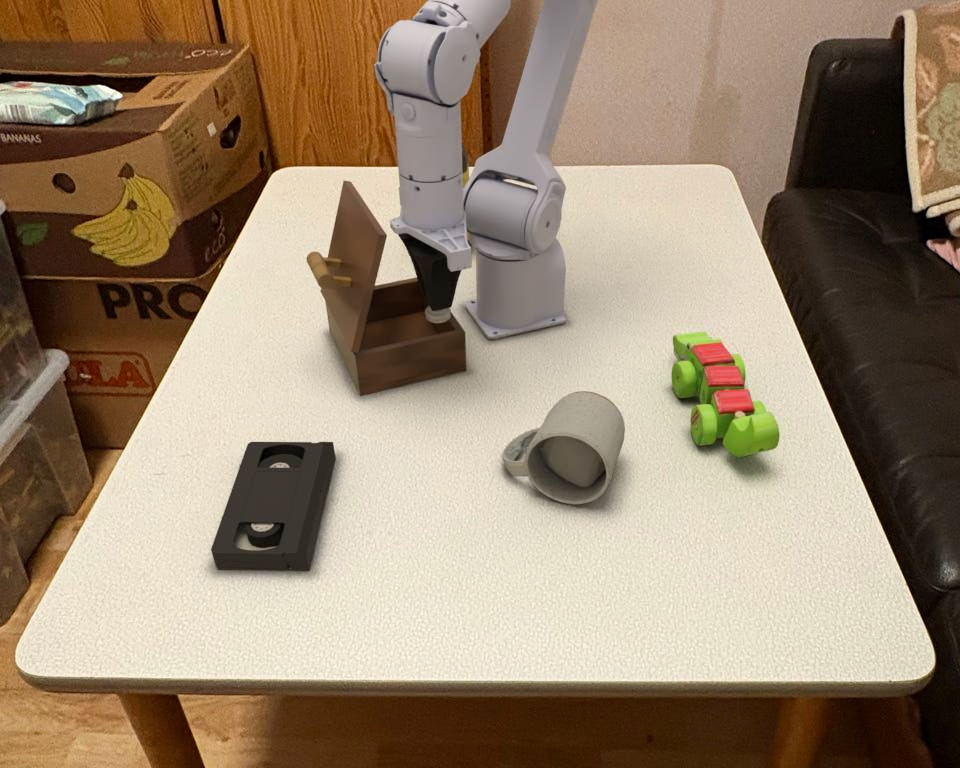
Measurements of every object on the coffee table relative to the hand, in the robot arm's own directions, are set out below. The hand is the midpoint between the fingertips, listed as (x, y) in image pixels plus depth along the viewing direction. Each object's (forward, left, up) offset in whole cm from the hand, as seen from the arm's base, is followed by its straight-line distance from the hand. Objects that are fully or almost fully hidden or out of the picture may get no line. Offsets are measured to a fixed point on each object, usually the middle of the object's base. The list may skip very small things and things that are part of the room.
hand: (437, 302), depth 90 cm
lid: (+7, -5, +3) cm, 9 cm away
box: (+3, -5, -8) cm, 11 cm away
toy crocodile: (-23, +17, -9) cm, 30 cm away
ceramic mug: (-5, +20, -9) cm, 22 cm away
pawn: (0, 0, -2) cm, 2 cm away
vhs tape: (+20, +15, -9) cm, 26 cm away
